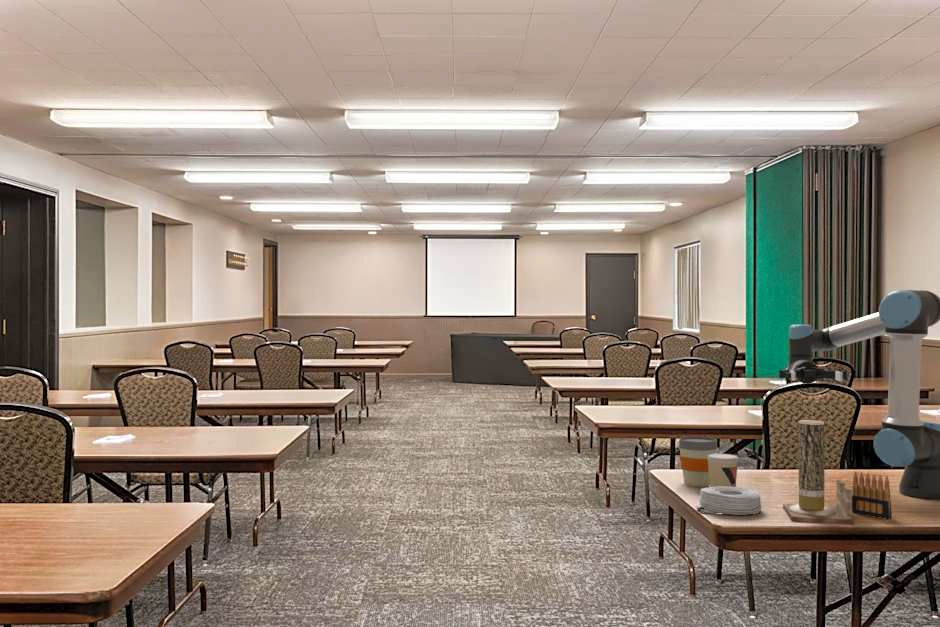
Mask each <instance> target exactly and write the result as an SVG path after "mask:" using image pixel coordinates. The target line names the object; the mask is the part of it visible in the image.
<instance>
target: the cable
mask: <svg viewBox="0 0 940 627" xmlns="http://www.w3.org/2000/svg"><path fill="white" fill-rule="evenodd" d="M699 495H700V496H699V498H698V500H699V501H698V502H699V505H700V506H697V507H696V510H697V511H698V510H700V511H699V513H702V512H704V513H703V514H708V513H722V514H730V515H729V516H748V515H747V514H753V515H755V514H754V513H757V512H759V511H762V504H761V503H762V502H761V494H760V493H759V492H758V491H756V490H754V489H752V488H747V487H738V486H736V487H731V486H718V487H710V486H708V487H703V488H702V487H701V489H700V494H699ZM703 508H704V509H703ZM759 513H760V512H759ZM757 514H758V513H757Z"/></svg>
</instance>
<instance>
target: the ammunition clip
mask: <svg viewBox="0 0 940 627" xmlns="http://www.w3.org/2000/svg"><path fill="white" fill-rule="evenodd" d="M870 477H871V476H870V474H869V472H867V473H866V476H865V477H864V473H863V472H861V473H860V474H859V478H858V473H857V471H855V472H854V473H853V479H852V480H853V482H852V512H853V513H852V514H855V513H858V514H857V515H861V514H863V516H866V515H869V516H868V517H871V516H875V517H874V518H877V517H881V518H880V519H882V518H886V519H885V520H888V519H889V520H891V519H890V518H892V500H891V490H890V489H891V487H890V479H889V476H887V475H886V476H885V480H884V481H883V477H882V475H881V474H880V475H879V476H878V480H877V477H876V475H875V473H873V474H872V479H871V478H870ZM892 519H893V518H892Z"/></svg>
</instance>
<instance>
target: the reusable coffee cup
mask: <svg viewBox="0 0 940 627" xmlns="http://www.w3.org/2000/svg"><path fill="white" fill-rule="evenodd" d="M678 448H679V451H680V452H679V453H680V454H679V463H680V468H681V470H682V474H683V475H682V476H683V477H682V478H683V483H684V485H686V486H691V487H710V486H709V470H708V459H707V457H708V455H710V454H717V451H716V450H718V444H717V439H716V438H711V437H708V436H707V437H706V436H705V437H704V436H683V437H680V438H679V442H678Z"/></svg>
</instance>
